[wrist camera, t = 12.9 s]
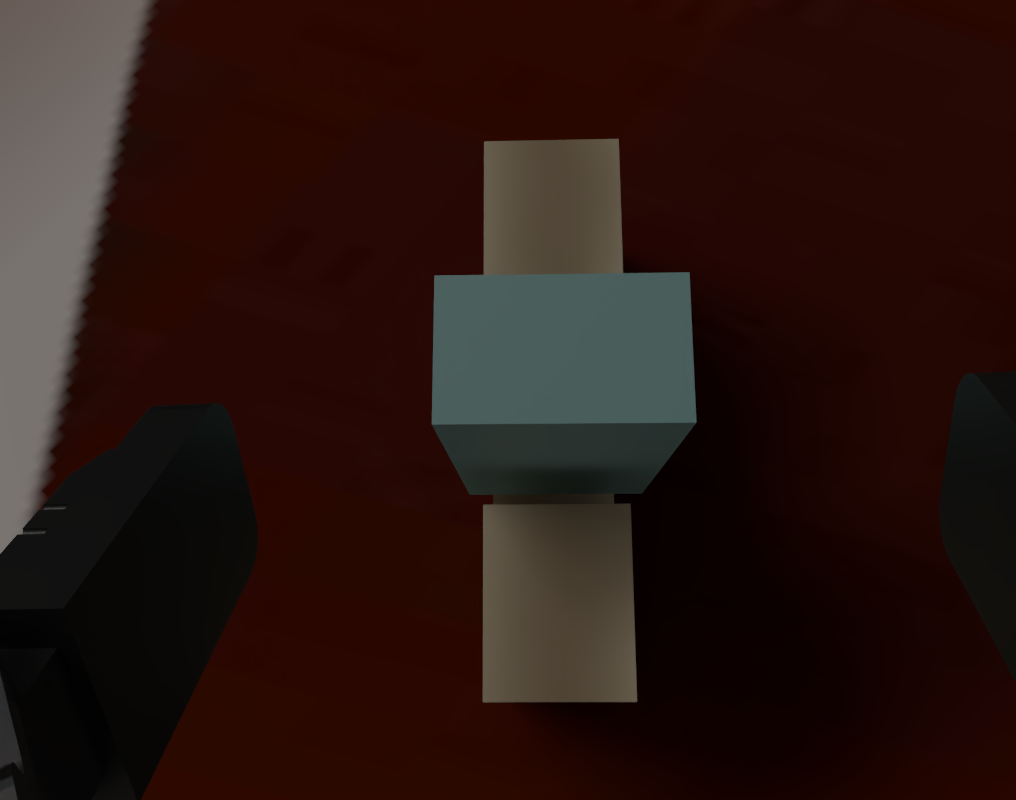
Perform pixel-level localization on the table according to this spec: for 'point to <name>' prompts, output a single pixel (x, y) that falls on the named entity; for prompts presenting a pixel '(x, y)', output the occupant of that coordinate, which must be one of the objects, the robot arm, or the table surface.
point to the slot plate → (556, 517)
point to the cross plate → (562, 379)
